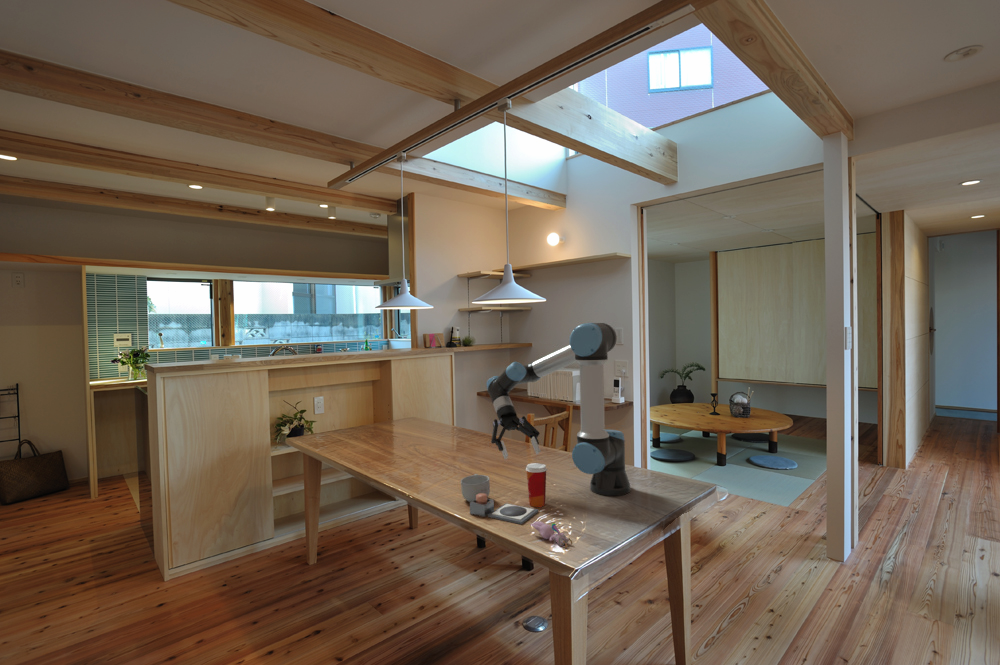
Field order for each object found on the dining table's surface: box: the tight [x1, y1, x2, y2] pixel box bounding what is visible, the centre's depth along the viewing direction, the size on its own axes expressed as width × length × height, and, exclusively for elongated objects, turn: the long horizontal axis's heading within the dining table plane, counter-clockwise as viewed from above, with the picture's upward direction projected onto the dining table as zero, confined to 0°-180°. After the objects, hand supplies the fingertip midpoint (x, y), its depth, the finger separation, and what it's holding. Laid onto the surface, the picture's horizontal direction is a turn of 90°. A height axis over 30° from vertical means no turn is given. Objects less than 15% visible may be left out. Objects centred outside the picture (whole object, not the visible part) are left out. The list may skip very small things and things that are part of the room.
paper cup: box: [525, 462, 548, 508], centre depth 170 cm, size 8×8×14 cm
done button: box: [476, 493, 488, 504], centre depth 164 cm, size 4×4×3 cm
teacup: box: [459, 473, 491, 503], centre depth 177 cm, size 14×11×8 cm
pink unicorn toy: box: [529, 520, 573, 548], centre depth 141 cm, size 6×6×15 cm
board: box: [487, 502, 539, 525], centre depth 161 cm, size 13×12×1 cm
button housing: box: [469, 497, 495, 518], centre depth 164 cm, size 6×6×4 cm
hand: (522, 455), depth 179 cm, fingers open, 13 cm apart
